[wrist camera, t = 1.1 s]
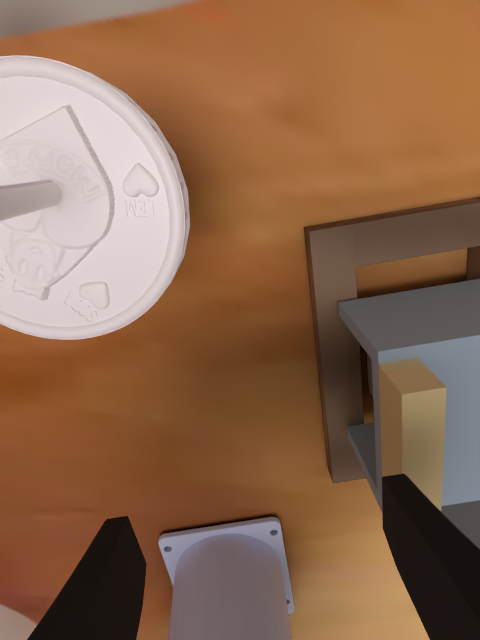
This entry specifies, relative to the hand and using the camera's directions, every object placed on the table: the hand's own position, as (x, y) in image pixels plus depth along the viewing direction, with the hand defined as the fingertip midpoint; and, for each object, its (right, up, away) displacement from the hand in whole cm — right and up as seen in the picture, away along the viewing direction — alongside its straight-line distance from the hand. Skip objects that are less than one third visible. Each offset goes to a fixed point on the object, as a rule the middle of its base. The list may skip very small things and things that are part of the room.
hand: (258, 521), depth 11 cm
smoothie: (-5, +12, +7) cm, 15 cm away
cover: (+9, +4, +9) cm, 13 cm away
